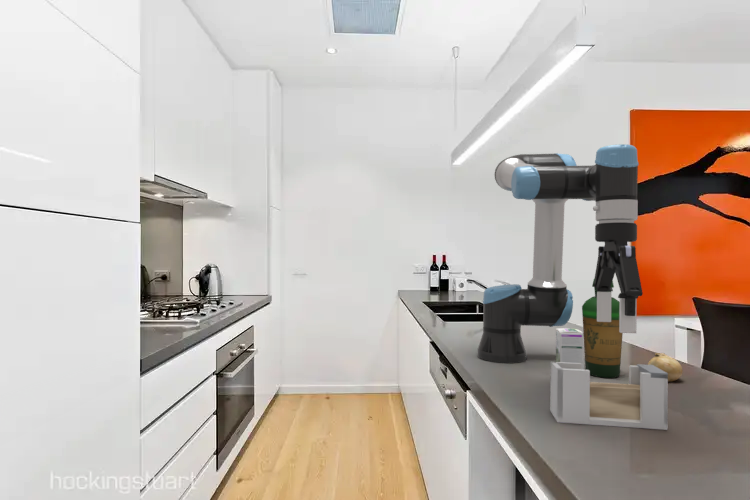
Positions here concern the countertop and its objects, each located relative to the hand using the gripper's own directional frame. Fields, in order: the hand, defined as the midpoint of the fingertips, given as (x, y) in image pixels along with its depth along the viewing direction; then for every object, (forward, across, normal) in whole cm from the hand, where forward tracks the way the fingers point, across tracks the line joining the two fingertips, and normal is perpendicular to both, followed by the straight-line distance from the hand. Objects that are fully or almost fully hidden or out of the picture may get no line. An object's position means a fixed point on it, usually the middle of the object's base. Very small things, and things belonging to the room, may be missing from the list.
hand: (614, 327), depth 91 cm
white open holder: (+19, +1, -2) cm, 19 cm away
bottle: (+19, -36, +9) cm, 42 cm away
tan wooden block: (+18, +1, 0) cm, 18 cm away
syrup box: (+19, -21, -4) cm, 29 cm away
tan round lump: (+19, -34, +24) cm, 46 cm away
